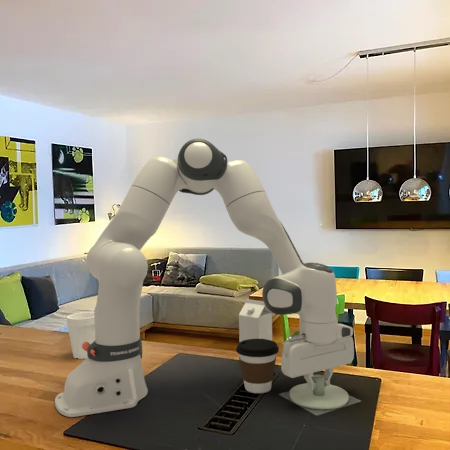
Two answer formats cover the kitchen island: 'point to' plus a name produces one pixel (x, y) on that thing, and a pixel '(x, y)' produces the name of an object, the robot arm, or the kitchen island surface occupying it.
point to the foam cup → (81, 332)
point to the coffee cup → (257, 363)
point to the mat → (317, 411)
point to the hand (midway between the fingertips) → (318, 387)
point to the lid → (319, 395)
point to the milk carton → (255, 321)
